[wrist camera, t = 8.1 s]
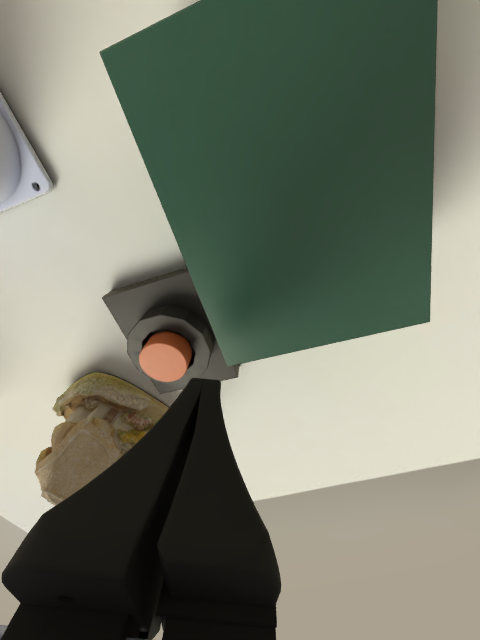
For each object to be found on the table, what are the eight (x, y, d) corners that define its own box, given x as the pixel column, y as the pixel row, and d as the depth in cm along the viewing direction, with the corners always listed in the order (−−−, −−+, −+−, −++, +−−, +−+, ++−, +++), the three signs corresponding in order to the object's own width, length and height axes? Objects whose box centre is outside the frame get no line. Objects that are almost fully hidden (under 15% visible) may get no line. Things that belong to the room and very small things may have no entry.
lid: (422, 316, 14) (430, 322, 13) (228, 360, 16) (227, 366, 15) (425, -99, 8) (441, -125, 7) (108, 60, 10) (98, 51, 9)
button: (159, 371, 21) (152, 386, 20) (139, 336, 20) (129, 349, 18) (199, 362, 20) (194, 377, 19) (181, 325, 19) (174, 337, 17)
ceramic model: (205, 435, 29) (183, 544, 20) (141, 468, 32) (99, 573, 24) (107, 354, 24) (22, 451, 15) (45, 404, 28) (-53, 505, 19)
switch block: (164, 384, 26) (153, 408, 23) (110, 291, 21) (88, 307, 18) (239, 367, 24) (237, 391, 21) (198, 264, 20) (189, 277, 17)
